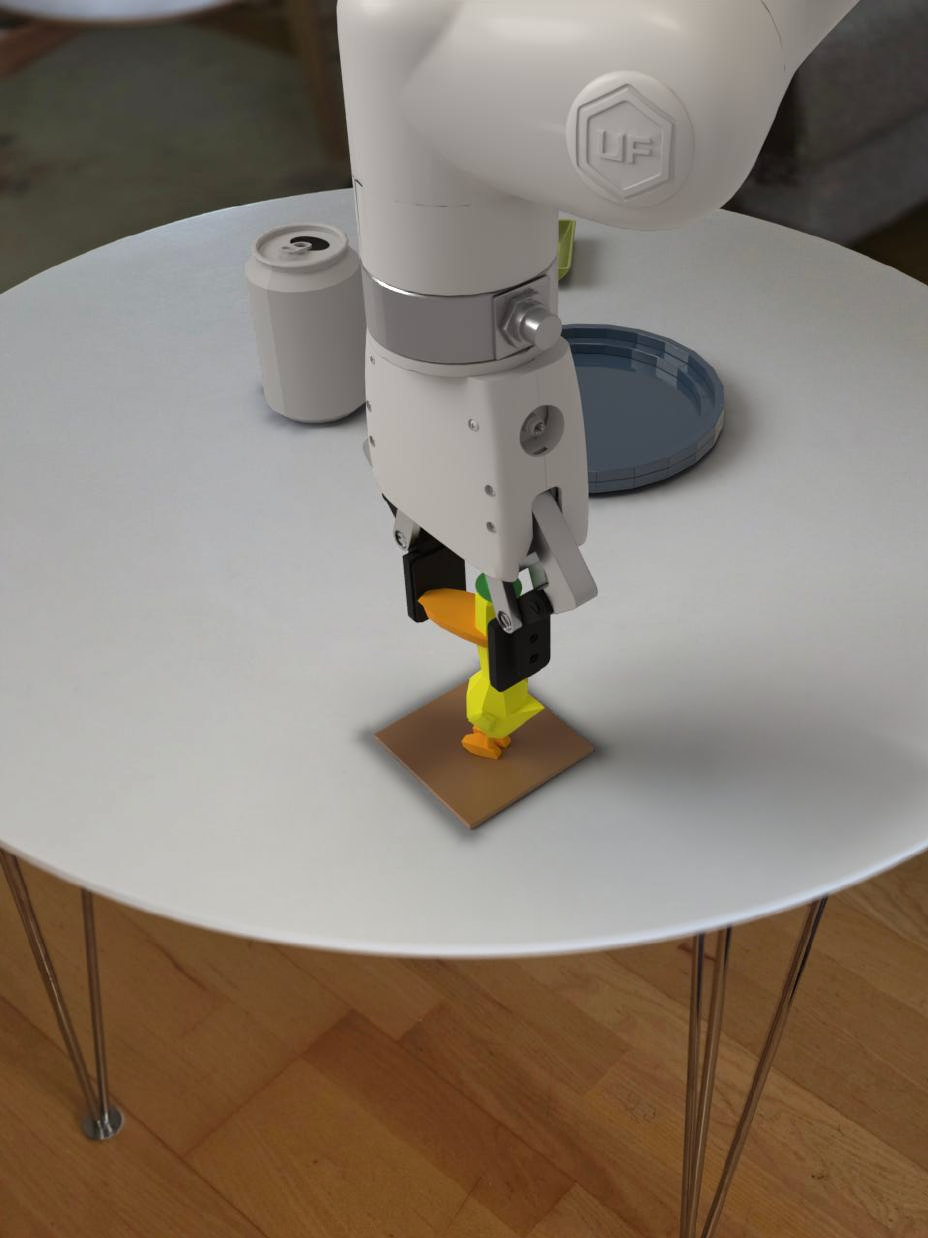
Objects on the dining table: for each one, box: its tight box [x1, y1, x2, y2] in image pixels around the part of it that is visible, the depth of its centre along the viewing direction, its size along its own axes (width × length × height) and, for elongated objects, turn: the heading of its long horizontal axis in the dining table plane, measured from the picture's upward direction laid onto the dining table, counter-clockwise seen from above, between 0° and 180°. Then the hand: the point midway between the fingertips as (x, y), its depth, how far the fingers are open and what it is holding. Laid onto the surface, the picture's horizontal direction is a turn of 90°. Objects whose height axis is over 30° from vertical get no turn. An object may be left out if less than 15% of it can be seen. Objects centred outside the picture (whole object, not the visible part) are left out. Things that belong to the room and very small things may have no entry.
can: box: [243, 221, 367, 424], centre depth 91 cm, size 8×8×12 cm
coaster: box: [373, 678, 595, 831], centre depth 69 cm, size 8×8×1 cm
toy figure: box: [418, 572, 546, 759], centre depth 65 cm, size 7×4×12 cm, turn 59°
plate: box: [560, 323, 726, 494], centre depth 91 cm, size 18×18×2 cm
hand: (477, 638), depth 65 cm, fingers closed on toy figure, 5 cm apart
